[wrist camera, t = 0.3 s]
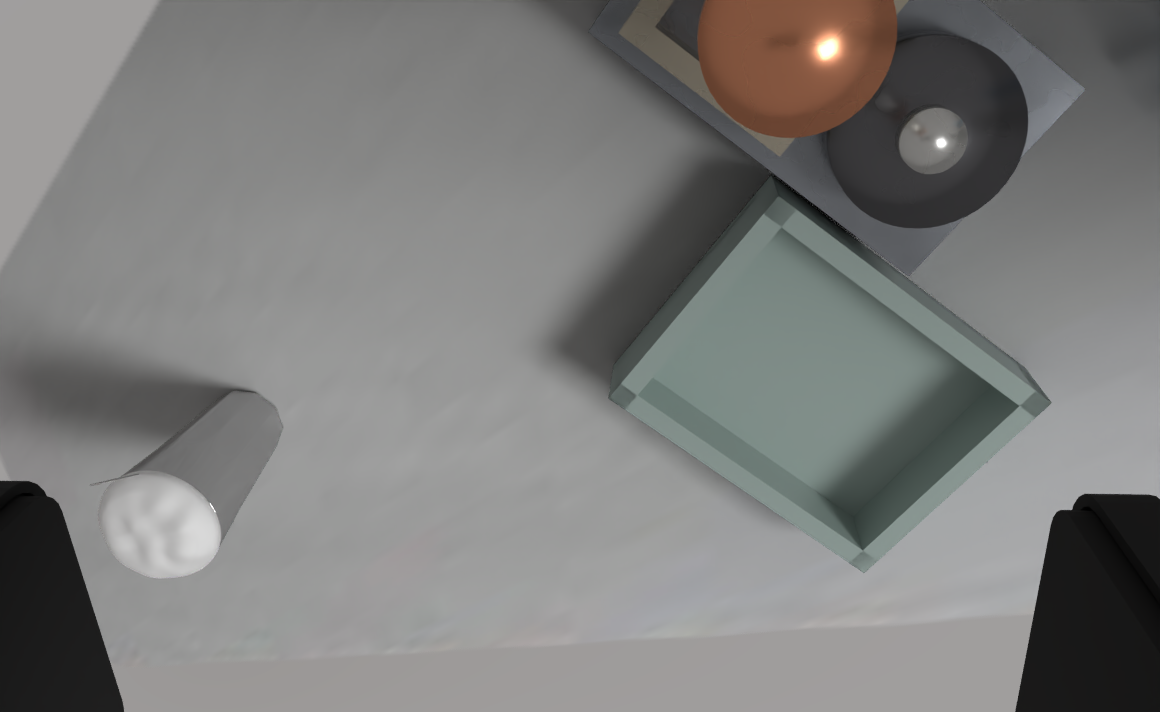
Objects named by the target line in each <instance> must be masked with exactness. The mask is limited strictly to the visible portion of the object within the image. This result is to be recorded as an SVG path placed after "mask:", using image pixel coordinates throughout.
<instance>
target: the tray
mask: <svg viewBox="0 0 1160 712" xmlns="http://www.w3.org/2000/svg"><path fill="white" fill-rule="evenodd" d="M609 399H610V400H612V401H613V402H614V403H616V404H617V405H619V406H620V407H622V408H623V409H625V410H626V411H628V412H629V413H631V414H632V415H633V416H635V417H636V418H638V419H639V420H641V421H642V422H644V423H645V424H647V425H648V426H650V427H651V428H652V429H654V430H655V431H657V432H658V433H660V434H661V435H663V436H664V437H666V438H667V439H669V440H670V441H671V442H673V443H674V444H676V445H677V446H679V447H680V448H682V449H683V450H685V451H686V452H688V453H689V454H690V455H692V456H693V457H695V458H696V459H698V460H699V461H701V462H702V463H704V464H705V465H707V466H708V467H710V468H711V469H712V470H714V471H715V472H717V473H718V474H720V475H721V476H723V477H724V478H726V479H727V480H729V481H730V482H731V483H733V484H734V485H736V486H737V487H739V488H740V489H742V490H743V491H745V492H746V493H748V494H749V495H750V496H752V497H753V498H755V499H756V500H758V501H759V502H761V503H762V504H764V505H765V506H767V507H768V508H769V509H771V510H772V511H774V512H775V513H777V514H778V515H780V516H781V517H783V518H784V519H786V520H787V521H788V522H790V523H791V524H793V525H794V526H796V527H797V528H799V529H800V530H802V531H803V532H805V533H806V534H807V535H809V536H810V537H812V538H813V539H815V540H816V541H818V542H819V543H821V544H822V545H824V546H825V547H826V548H828V549H829V550H831V551H832V552H834V553H835V554H837V555H838V556H840V557H841V558H843V559H844V560H846V561H847V562H848V563H850V564H851V565H853V566H854V567H856V568H857V569H859V570H860V571H862V572H863V573H865V572H866V571H867V570H868V569H869V568H870V567H871V566H873V565H874V564H875V563H876V562H877V561H878V560H879V559H880V558H881V557H883V556H884V555H885V554H886V553H887V552H888V551H889V550H890V549H891V548H892V547H894V546H895V545H896V544H897V543H898V542H899V541H900V540H901V539H902V538H903V537H905V536H906V535H907V534H908V533H909V532H910V531H911V530H912V529H913V528H914V527H916V526H917V525H918V524H919V523H920V522H921V521H922V520H923V519H924V518H925V517H927V516H928V515H929V514H930V513H931V512H932V511H933V510H934V509H935V508H937V507H938V506H939V505H940V504H941V503H942V502H943V501H944V500H945V499H946V498H948V497H949V496H950V495H951V494H952V493H953V492H954V491H955V490H956V489H957V488H959V487H960V486H961V485H962V484H963V483H964V482H965V481H966V480H967V479H968V478H970V477H971V476H972V475H973V474H974V473H975V472H976V471H977V470H978V469H980V468H981V467H982V466H983V465H984V464H985V463H986V462H987V461H988V460H989V459H991V458H992V457H993V456H994V455H995V454H996V453H997V452H998V451H999V450H1000V449H1002V448H1003V447H1004V446H1005V445H1006V444H1007V443H1008V442H1009V441H1010V440H1011V439H1013V438H1014V437H1015V436H1016V435H1017V434H1018V433H1019V432H1020V431H1021V430H1022V429H1024V428H1025V427H1026V426H1027V425H1028V424H1029V423H1030V422H1031V421H1032V420H1034V419H1035V418H1036V417H1037V416H1038V415H1039V414H1040V413H1041V412H1042V411H1043V410H1045V409H1046V408H1047V407H1048V406H1049V405H1050V404H1051V401H1050V400H1049V399H1048V397H1047V396H1046V395H1045V393H1044V392H1043V391H1042V389H1041V388H1040V387H1039V385H1038V384H1037V383H1036V382H1035V380H1034V379H1033V378H1032V376H1031V375H1030V374H1029V372H1028V371H1027V370H1026V368H1024V367H1023V366H1022V365H1021V364H1019V363H1018V362H1017V361H1015V360H1014V359H1013V358H1011V357H1010V356H1009V355H1007V354H1006V353H1005V352H1003V351H1002V350H1001V349H999V348H998V347H997V346H996V345H994V344H993V343H992V342H990V341H989V340H988V339H986V338H985V337H984V336H982V335H981V334H980V333H978V332H977V331H976V330H975V329H973V328H972V327H971V326H969V325H968V324H967V323H965V322H964V321H963V320H961V319H960V318H959V317H957V316H956V315H955V314H954V313H952V312H951V311H950V310H948V309H947V308H946V307H944V306H943V305H942V304H940V303H939V302H938V301H936V300H935V299H934V298H932V297H931V296H930V295H929V294H927V293H926V292H925V291H923V290H922V289H921V288H919V287H918V286H917V285H915V284H914V283H913V282H911V281H910V280H909V279H908V278H906V277H905V276H904V275H902V274H901V273H900V272H898V271H897V270H896V269H894V268H893V267H892V266H890V265H889V264H888V263H887V262H885V261H884V260H883V259H881V258H880V257H879V256H877V255H876V254H875V253H873V252H872V251H871V250H869V249H868V248H867V247H865V246H864V245H863V244H862V243H860V242H859V241H858V240H856V239H855V238H854V237H852V236H851V235H850V234H848V233H847V232H846V231H844V230H843V229H842V228H841V227H839V226H838V225H837V224H835V223H834V222H833V221H831V220H830V219H829V218H827V217H826V216H825V215H823V214H822V213H821V212H820V211H818V210H817V209H816V208H814V207H813V206H812V205H810V204H809V203H808V202H806V201H805V200H804V199H802V198H801V197H800V196H799V195H797V194H796V193H795V192H793V191H792V190H791V189H789V188H788V187H787V186H785V185H784V184H783V183H781V182H780V181H779V180H777V179H776V178H775V177H774V176H772V175H771V176H770V177H769V178H768V179H767V180H766V182H765V183H764V184H763V185H762V187H761V188H760V189H759V190H758V191H757V193H756V194H755V195H754V196H753V197H752V199H751V200H750V201H749V202H748V203H747V205H746V206H745V207H744V208H743V209H742V211H741V212H740V213H739V214H738V216H737V217H736V218H735V219H734V220H733V222H732V223H731V224H730V225H729V226H728V228H727V229H726V230H725V231H724V232H723V234H722V235H721V236H720V237H719V238H718V240H717V241H716V242H715V243H714V245H713V246H712V247H711V248H710V249H709V251H708V252H707V253H706V254H705V255H704V257H703V258H702V259H701V260H700V261H699V263H698V264H697V265H696V266H695V267H694V269H693V270H692V271H691V272H690V273H689V275H688V276H687V277H686V278H685V280H684V281H683V282H682V283H681V284H680V286H679V287H678V288H677V289H676V290H675V292H674V293H673V294H672V295H671V296H670V298H669V299H668V300H667V301H666V302H665V304H664V305H663V306H662V307H661V309H660V310H659V311H658V312H657V313H656V315H655V316H654V317H653V318H652V319H651V321H650V322H649V323H648V324H647V325H646V327H645V328H644V329H643V330H642V331H641V333H640V334H639V335H638V336H637V338H636V339H635V340H634V341H633V342H632V344H631V345H630V346H629V347H628V348H627V350H626V351H625V352H624V353H623V354H622V356H621V357H620V358H619V359H618V360H617V362H616V363H615V364H614V365H613V371H612V378H611V385H610V392H609Z"/></svg>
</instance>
